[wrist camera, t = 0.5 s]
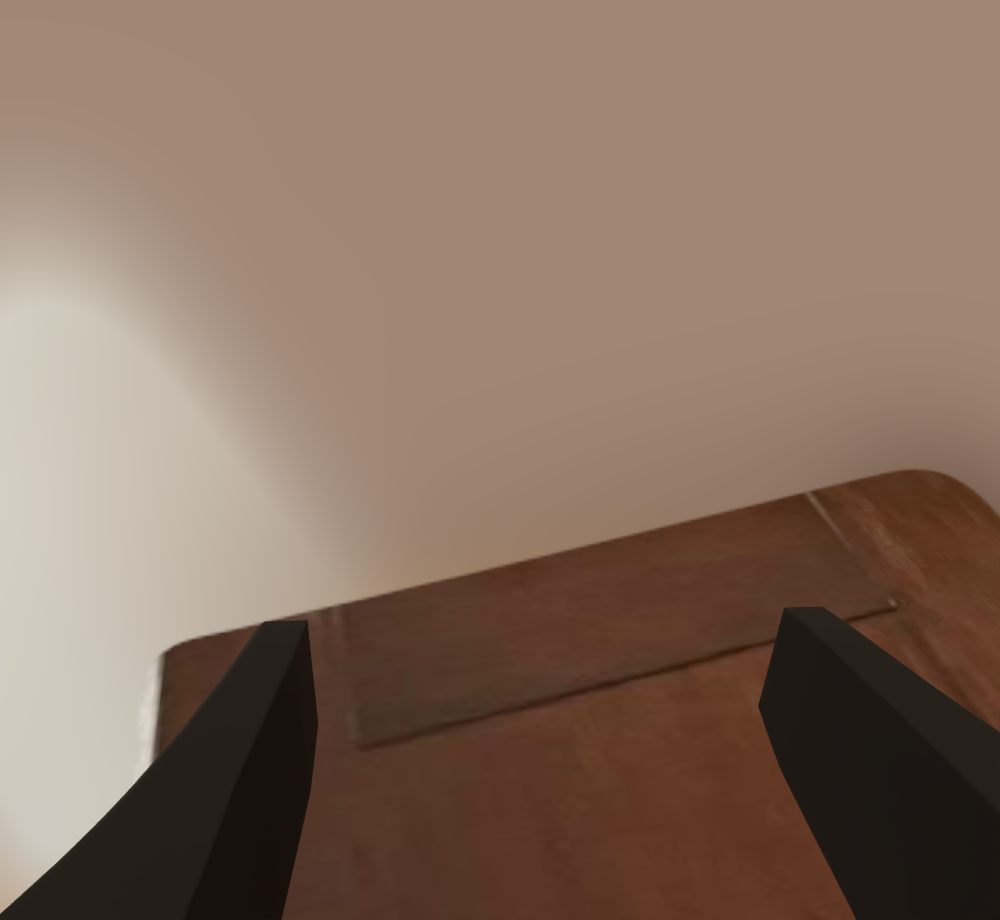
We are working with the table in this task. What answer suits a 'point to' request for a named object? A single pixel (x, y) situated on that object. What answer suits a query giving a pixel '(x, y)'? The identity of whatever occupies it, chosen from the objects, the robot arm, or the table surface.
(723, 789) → the table surface
